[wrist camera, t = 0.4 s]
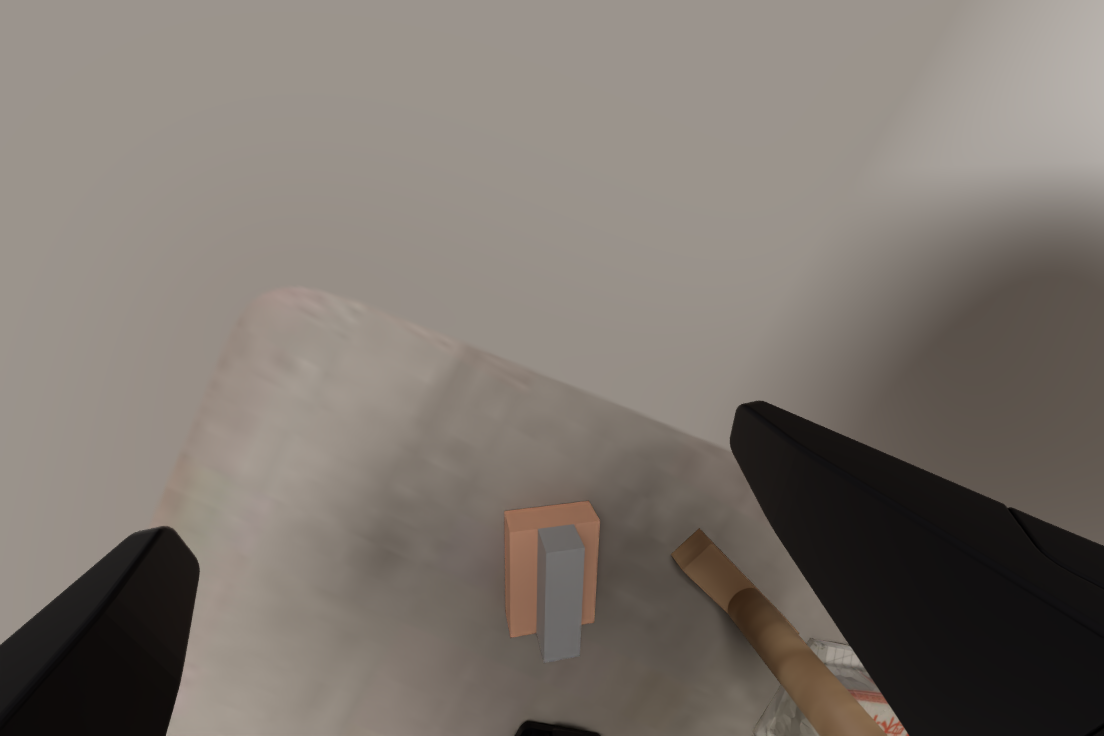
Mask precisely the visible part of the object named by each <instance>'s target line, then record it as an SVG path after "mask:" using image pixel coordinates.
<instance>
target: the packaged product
mask: <svg viewBox="0 0 1104 736" xmlns="http://www.w3.org/2000/svg"><path fill="white" fill-rule="evenodd" d="M807 645H808V646H809V647H810V649H811V650H812V651H813V652H814V653H815V654H816V655H817V656H818V658H819V659H820V660H821V661H822V662H823V663H824V664H825V665H826V667H827V668H828V669H829V670H830V671H831V672H832V673H833V674H834V676H835V677H836V678H837V679H838V680H839V681H840V682H841V683H842V685H843V686H844V687H845V688H846V689H847V690H848V691H849V692H850V694H851V695H852V696H853V697H854V698H855V699H856V700H857V701H858V703H859V704H860V705H861V706H862V707H863V708H864V709H865V711H866V712H867V713H868V714H869V715H870V716H871V717H872V718H873V720H874V721H875V722H876V723H877V724H878V725H879V726H880V727H881V729H882V730H883V731H884V732H885V733H886V734H887V735H888V736H909V735H908V733H907V732H906V730H905V729H904V727H903V726H902V724H901V723H900V721H899V720H898V718H897V716H896V715H895V713H894V712H893V710H892V709H891V707H890V706H889V704H888V703H887V701H886V700H885V698H884V697H883V695H882V694H881V692H880V691H879V689H878V688H877V686H876V685H875V683H874V682H873V680H872V679H871V677H870V676H869V674H868V673H867V671H866V669H865V668H864V666H863V665H862V663H861V662H860V660H859V659H858V657H857V656H856V654H855V653H854V651H853V650H852V648H851V647H850V646H849V645H844V644H838V643H834V642H829V641H824V640H817V639H811V638H810V639H809V641H808V642H807ZM753 733H754V734H755V736H820V735H819V734H818V733H817V731H816V730H815V729H814V727H813V726H812V725H811V723H810V722H809V721H808V719H807V718H806V717H805V715H804V714H803V713H802V711H801V710H800V709H799V707H798V706H797V705H796V704H795V702H794V701H793V700H792V698H791V697H790V696H789V694H788V693H787V692H786V690H785V689H784V688H783V686H782V685H780V687H779V689H778V691H777V693H776V694H775V696H774V697H773V699H772V700H771V702H770V704H769V705H768V707H767V708H766V710H765V712H764V713H763V715H762V717H761V718H760V720H759V722H758V723H757V725H756V727H755V728H754V730H753Z"/></svg>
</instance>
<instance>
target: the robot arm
mask: <svg viewBox="0 0 1104 736" xmlns="http://www.w3.org/2000/svg"><path fill="white" fill-rule="evenodd" d="M730 447H731V450H732V453H733V455H734V457H735V458H736V460H737V462H738V464H739V466H740V468H741V470H742V472H743V474H744V476H745V478H746V480H747V481H748V483H749V485H750V487H751V489H752V491H753V493H754V495H755V497H756V499H757V501H758V502H759V504H760V506H761V508H762V510H763V512H764V514H765V516H766V518H767V519H768V521H769V523H770V525H771V526H772V528H773V530H774V531H775V533H776V534H777V536H778V538H779V539H780V541H781V542H782V544H783V545H784V547H785V548H786V550H787V551H788V553H789V554H790V556H791V557H792V559H793V560H794V562H795V563H796V565H797V566H798V568H799V569H800V571H801V572H802V574H803V576H804V577H805V579H806V580H807V582H808V583H809V585H810V586H811V588H812V589H813V591H814V592H815V594H816V595H817V597H818V598H819V600H820V601H821V603H822V604H823V606H824V607H825V609H826V610H827V612H828V613H829V615H830V616H831V618H832V619H833V621H834V623H835V624H836V626H837V627H838V629H839V630H840V632H841V633H842V635H843V636H844V638H845V639H846V641H847V642H848V644H849V645H850V647H851V648H852V650H853V651H854V653H855V654H856V656H857V657H858V659H859V660H860V662H861V663H862V665H863V666H864V668H865V669H866V671H867V673H868V674H869V676H870V677H871V679H872V680H873V682H874V683H875V685H876V686H877V688H878V689H879V691H880V692H881V694H882V695H883V697H884V698H885V700H886V701H887V703H888V704H889V706H890V707H891V709H892V710H893V712H894V713H895V715H896V716H897V718H898V720H899V721H900V723H901V724H902V726H903V727H904V729H905V730H906V732H907V733H908V735H909V736H1104V546H1103V545H1100V544H1098V543H1096V542H1093V541H1091V540H1088V539H1086V538H1083V537H1081V536H1079V535H1076V534H1074V533H1071V532H1069V531H1067V530H1064V529H1062V528H1059V527H1057V526H1054V525H1052V524H1050V523H1047V522H1045V521H1042V520H1040V519H1038V518H1035V517H1033V516H1031V515H1029V514H1026V513H1024V512H1022V511H1019V510H1017V509H1015V508H1012V507H1009V508H1007V507H1006V506H1005V505H1004V504H1003V503H1000V502H998V501H996V500H993V499H991V498H989V497H986V496H984V495H982V494H979V493H977V492H975V491H972V490H970V489H967V488H965V487H963V486H961V485H958V484H956V483H954V482H951V481H949V480H947V479H944V478H942V477H940V476H937V475H935V474H933V473H930V472H928V471H926V470H923V469H921V468H919V467H916V466H914V465H912V464H909V463H907V462H905V461H902V460H900V459H898V458H895V457H893V456H891V455H888V454H886V453H884V452H881V451H879V450H877V449H874V448H872V447H870V446H867V445H865V444H863V443H860V442H858V441H856V440H853V439H851V438H849V437H846V436H844V435H842V434H839V433H837V432H835V431H832V430H830V429H828V428H825V427H823V426H821V425H818V424H816V423H813V422H811V421H809V420H806V419H804V418H802V417H800V416H797V415H795V414H793V413H790V412H788V411H786V410H783V409H781V408H779V407H776V406H774V405H772V404H769V403H767V402H764V401H754V402H749V403H744V404H741V405H739V406H738V408H737V409H736V413H735V418H734V421H733V426H732V431H731V436H730ZM199 574H200V568H199V563H198V560H197V558H196V557H195V555H194V554H193V553H192V551H191V550H190V549H189V548H188V546H187V545H186V544H185V542H184V541H183V540H182V539H181V537H180V536H179V535H178V533H177V532H176V531H175V530H174V529H173V528H171V527H168V526H161V527H156V528H151V529H146V530H142V531H138V532H135V533H133V534H131V535H130V536H128V537H127V538H126V539H125V540H124V541H122V542H121V543H120V544H119V545H118V546H117V547H115V548H114V549H113V550H112V551H111V552H109V553H108V554H107V555H106V556H105V557H103V558H102V559H101V560H100V561H99V562H98V563H96V564H95V565H94V566H93V567H92V568H90V569H89V570H88V571H87V572H86V573H85V574H83V575H82V576H81V577H80V578H79V579H78V580H76V581H75V582H74V583H73V584H72V585H70V586H69V587H68V588H67V589H66V590H65V591H63V592H62V593H61V594H60V595H59V596H57V597H56V598H55V599H54V600H53V601H52V602H50V603H49V604H48V605H47V606H46V607H44V608H43V609H42V610H41V611H40V612H39V613H37V614H36V615H35V616H34V617H33V618H32V619H30V620H29V621H28V622H27V623H26V624H24V625H23V626H22V627H21V628H20V629H19V630H17V631H16V632H15V633H14V634H13V635H11V637H9V638H8V639H7V640H6V641H4V642H3V643H2V644H1V645H0V736H166V733H167V729H168V726H169V722H170V719H171V715H172V712H173V708H174V705H175V701H176V697H177V693H178V690H179V686H180V682H181V677H182V672H183V667H184V662H185V656H186V651H187V645H188V639H189V633H190V627H191V622H192V616H193V610H194V604H195V598H196V593H197V587H198V581H199ZM515 736H600V735H599V734H595V733H589V732H584V731H578V730H572V729H567V728H561V727H555V726H550V725H544V724H538V723H533V722H527V723H524V724H523V725H522V726H521V727H520V729H519V730H518V732H517V734H516V735H515Z"/></svg>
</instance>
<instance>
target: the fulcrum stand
mask: <svg viewBox="0 0 1104 736" xmlns="http://www.w3.org/2000/svg"><path fill="white" fill-rule="evenodd" d="M504 514H505V611H506V617H507V622H508V627H509V632H510V638H512V637H518V636H523V635H529V634H534V633H536V634H537V638H538V641H539V645H540V649H541V653H542V657H543V661H544V663H547V662H552V661H557V660H562V659H567V658H572V657H577V656H580V639H581V625H583V624H589V623H594V616H595V598H596V581H597V564H598V546H599V529H600V520H599V518H598V516H597V515H596V513H595V511H594V509H593V507H592V506H591V504H590V502H589V501H583V502H575V503H567V504H558V505H550V506H542V507H533V508H525V509H517V510H508V511H504Z"/></svg>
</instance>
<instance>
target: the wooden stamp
mask: <svg viewBox="0 0 1104 736" xmlns="http://www.w3.org/2000/svg"><path fill="white" fill-rule="evenodd" d="M671 555H672V557H673V558H674V559H675V561H676V562H677V563H678V565H679V566H680V568H681V569H682V570H683V571H684V572H685V573H686V574H687V575H688V576H689V577H690V578H691V579H692V580H693V581H694V582H695V583H696V584H697V585H698V586H699V587H700V588H701V589H703V590H704V591H705V592H706V593H707V594H708V595H709V596H710V597H711V598H712V599H713V600H714V601H715V602H716V603H717V604H718V605H719V606H720V607H721V608H722V609H724V610H725V611H726V612H727V613H728V614H729V616H730V617H731V619H732V620H733V621H734V623H735V624H736V625H737V627H738V628H739V629H740V631H741V632H742V633H743V635H744V636H745V637H746V639H747V640H748V641H749V643H750V644H751V645H752V647H753V648H754V649H755V651H756V652H757V653H758V654H759V656H760V657H761V658H762V660H763V661H764V662H765V664H766V665H767V666H768V668H769V669H770V670H771V672H772V673H773V674H774V676H775V677H776V678H777V680H778V681H779V682H780V684H781V685H782V686H783V688H784V689H785V690H786V692H787V693H788V694H789V696H790V697H791V698H792V700H793V701H794V702H795V704H796V705H797V706H798V707H799V709H800V710H801V711H802V713H803V714H804V715H805V717H806V718H807V719H808V721H809V722H810V723H811V725H812V726H813V727H814V729H815V730H816V731H817V733H818V734H819V735H820V736H888V735H887V734H886V733H885V732H884V731H883V730H882V729H881V727H880V726H879V725H878V724H877V723H876V722H875V721H874V720H873V718H872V717H871V716H870V715H869V714H868V713H867V712H866V711H865V709H864V708H863V707H862V706H861V705H860V704H859V703H858V701H857V700H856V699H855V698H854V697H853V696H852V695H851V694H850V692H849V691H848V690H847V689H846V688H845V687H844V686H843V685H842V683H841V682H840V681H839V680H838V679H837V678H836V677H835V676H834V674H833V673H832V672H831V671H830V670H829V669H828V668H827V667H826V665H825V664H824V663H823V662H822V661H821V660H820V659H819V658H818V656H817V655H816V654H815V653H814V652H813V651H812V650H811V649H810V647H809V646H808V645H807V644H806V643H805V642H804V641H803V639H802V638H801V637H800V636H799V635H798V634H799V632H798V631H797V630H796V629H795V628H794V627H793V626H792V625H791V624H790V622H789V621H788V620H787V619H786V618H785V617H784V616H783V615H782V614H781V613H780V612H779V611H778V610H777V608H776V607H775V606H774V605H773V604H772V603H771V602H770V601H769V600H768V599H767V598H766V597H765V596H764V595H763V594H762V593H761V592H760V591H759V590H758V589H757V588H756V587H755V586H754V585H753V584H752V583H751V581H750V580H749V579H748V578H747V577H746V576H745V575H744V574H743V573H742V572H741V571H740V570H739V569H738V568H737V567H736V566H735V565H734V564H733V563H732V562H731V561H730V560H729V559H728V558H727V557H726V555H725V554H724V553H723V552H722V551H721V550H720V549H719V548H718V547H717V546H716V545H715V544H714V543H713V542H712V541H711V540H710V539H709V538H708V537H707V536H706V535H705V534H704V533H703V532H702V531H701V529H700V528H699V529H698V530H697V531H696V532H695V533H694V534H693V535H691V536H690V537H689V538H688V539H687V540H686V541H685V542H684V543H683V544H682V545H681V546H679V547H678V548H677V549H676V550H675V551H674V552H673V553H672V554H671Z"/></svg>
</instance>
